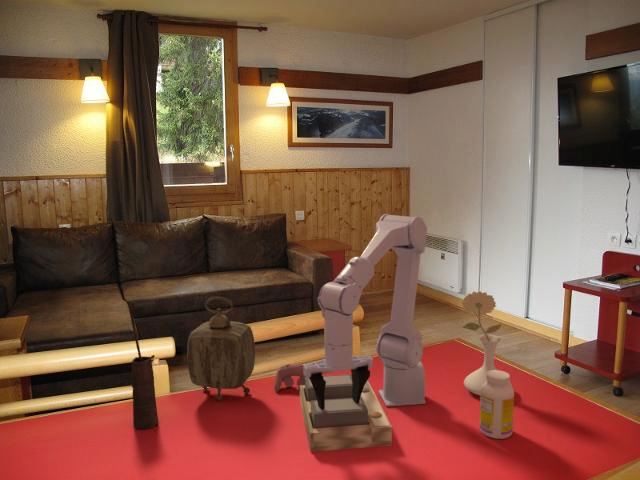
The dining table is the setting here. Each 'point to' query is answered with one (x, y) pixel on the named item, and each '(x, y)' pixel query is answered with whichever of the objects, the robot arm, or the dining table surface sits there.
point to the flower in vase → (481, 338)
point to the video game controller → (289, 375)
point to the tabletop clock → (221, 352)
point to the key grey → (331, 387)
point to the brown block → (339, 413)
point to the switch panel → (349, 427)
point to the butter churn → (143, 388)
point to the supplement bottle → (496, 405)
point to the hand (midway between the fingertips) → (338, 404)
